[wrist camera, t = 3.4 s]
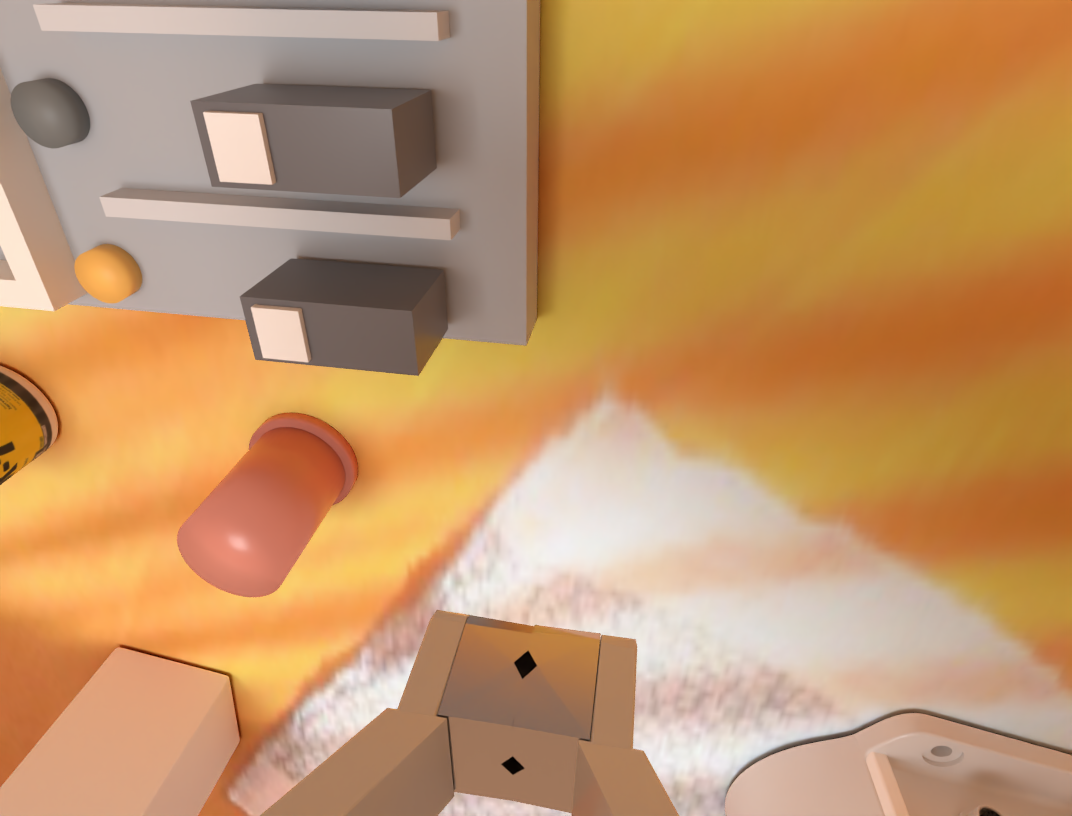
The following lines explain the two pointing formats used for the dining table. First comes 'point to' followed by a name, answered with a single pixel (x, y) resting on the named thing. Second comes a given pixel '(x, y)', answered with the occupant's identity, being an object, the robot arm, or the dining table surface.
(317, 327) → the block
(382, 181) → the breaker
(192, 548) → the cap
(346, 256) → the panel
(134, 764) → the milk carton
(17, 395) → the supplement bottle
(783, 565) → the dining table surface
